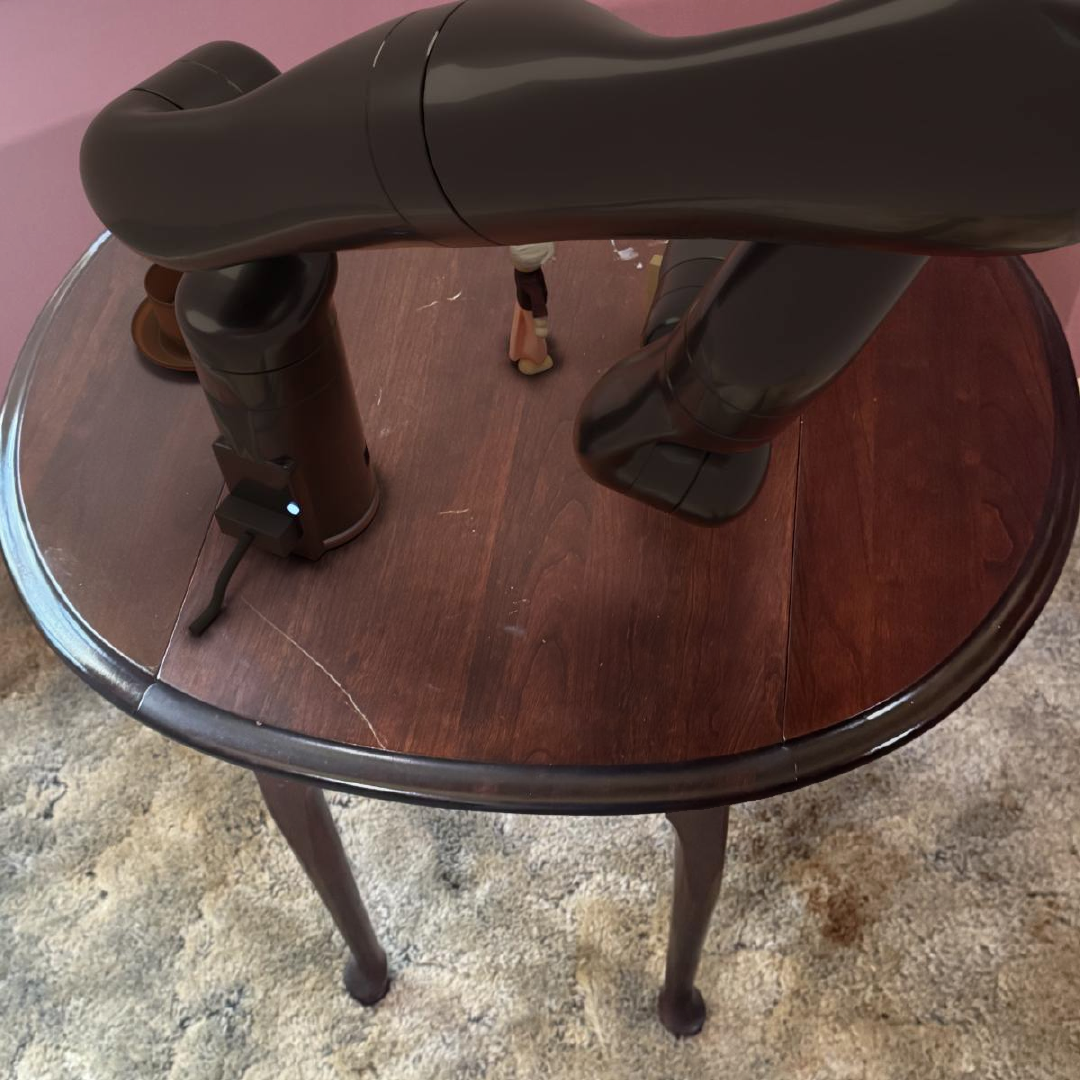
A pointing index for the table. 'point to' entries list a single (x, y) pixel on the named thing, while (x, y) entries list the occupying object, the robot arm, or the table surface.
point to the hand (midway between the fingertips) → (765, 116)
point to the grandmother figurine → (530, 307)
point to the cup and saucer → (161, 321)
